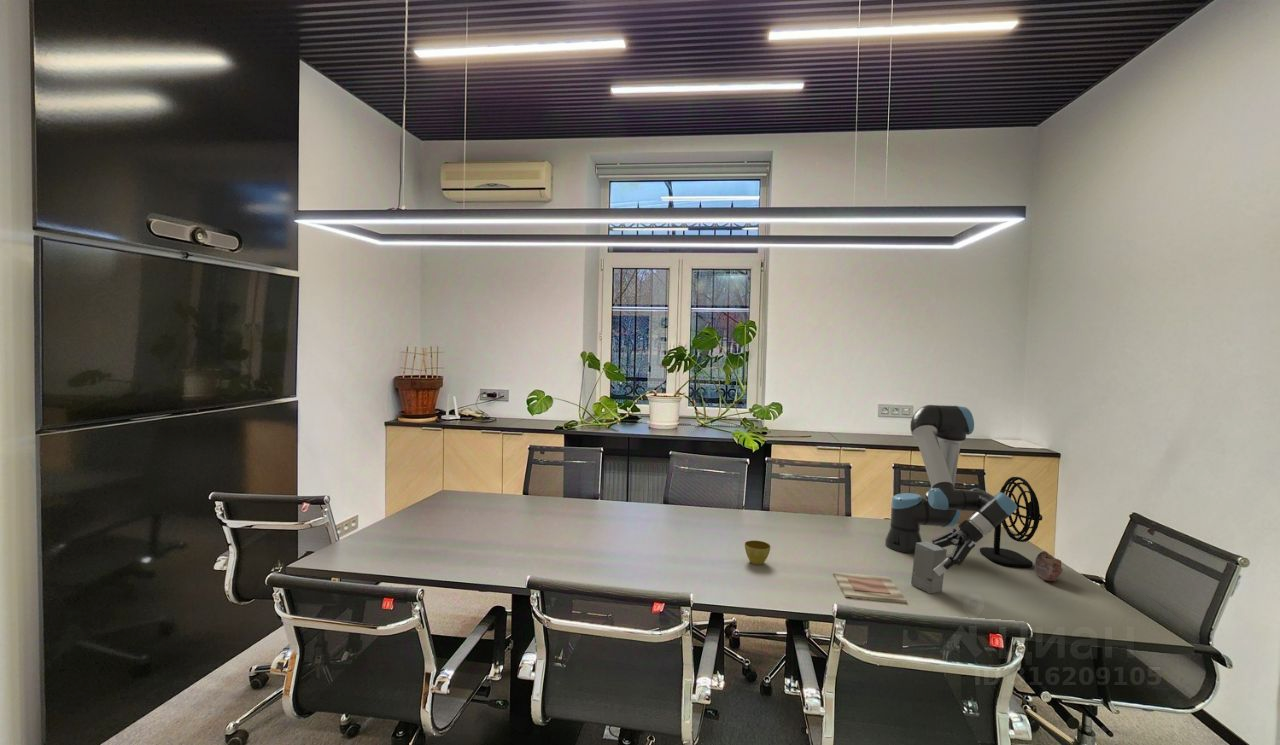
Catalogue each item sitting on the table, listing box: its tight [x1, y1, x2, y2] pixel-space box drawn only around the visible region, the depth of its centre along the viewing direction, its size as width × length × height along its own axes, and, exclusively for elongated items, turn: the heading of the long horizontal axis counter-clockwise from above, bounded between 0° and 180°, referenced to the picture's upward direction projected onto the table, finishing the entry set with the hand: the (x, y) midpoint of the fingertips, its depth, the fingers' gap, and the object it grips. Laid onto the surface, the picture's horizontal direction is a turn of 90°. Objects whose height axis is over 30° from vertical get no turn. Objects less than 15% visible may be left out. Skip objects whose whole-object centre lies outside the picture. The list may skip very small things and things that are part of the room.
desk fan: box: [979, 476, 1043, 568], centre depth 233 cm, size 27×18×35 cm, turn 173°
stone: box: [1034, 550, 1064, 582], centre depth 213 cm, size 13×8×10 cm
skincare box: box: [910, 541, 948, 594], centre depth 200 cm, size 8×7×16 cm
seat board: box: [832, 571, 907, 604], centre depth 199 cm, size 20×20×1 cm
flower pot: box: [744, 540, 772, 566], centre depth 220 cm, size 10×10×7 cm
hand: (928, 565), depth 200 cm, fingers open, 13 cm apart
